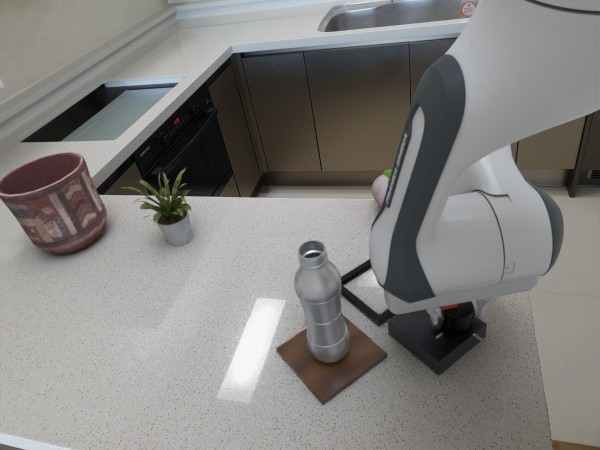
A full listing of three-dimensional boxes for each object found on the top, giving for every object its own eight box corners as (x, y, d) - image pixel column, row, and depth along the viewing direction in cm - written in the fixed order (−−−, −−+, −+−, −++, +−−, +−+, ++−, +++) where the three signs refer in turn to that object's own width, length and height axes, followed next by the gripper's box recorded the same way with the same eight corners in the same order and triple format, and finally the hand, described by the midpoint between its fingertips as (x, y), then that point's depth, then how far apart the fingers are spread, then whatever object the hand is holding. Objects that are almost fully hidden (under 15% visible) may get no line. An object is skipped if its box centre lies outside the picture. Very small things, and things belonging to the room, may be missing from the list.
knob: (465, 308, 69) (466, 290, 66) (477, 331, 65) (479, 313, 63) (436, 314, 69) (436, 296, 66) (446, 337, 65) (447, 318, 63)
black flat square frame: (432, 288, 77) (432, 283, 76) (379, 326, 72) (378, 321, 72) (382, 255, 86) (382, 250, 85) (332, 287, 81) (331, 282, 80)
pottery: (99, 259, 99) (60, 189, 88) (24, 268, 101) (-23, 200, 90) (126, 212, 113) (95, 146, 102) (59, 220, 115) (22, 157, 104)
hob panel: (499, 337, 67) (501, 323, 65) (446, 382, 63) (446, 368, 61) (438, 297, 75) (439, 283, 73) (388, 333, 71) (387, 320, 69)
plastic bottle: (352, 332, 71) (338, 230, 60) (351, 369, 66) (336, 266, 54) (311, 333, 72) (289, 234, 61) (307, 370, 67) (283, 269, 55)
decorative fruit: (423, 220, 92) (423, 177, 86) (385, 230, 91) (382, 188, 85) (404, 196, 100) (403, 156, 94) (368, 206, 99) (365, 165, 93)
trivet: (387, 356, 68) (387, 353, 67) (323, 405, 63) (322, 401, 63) (336, 311, 76) (336, 308, 76) (276, 351, 72) (275, 348, 71)
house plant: (138, 269, 94) (106, 203, 84) (146, 230, 105) (118, 168, 95) (207, 254, 94) (183, 187, 85) (207, 216, 106) (186, 153, 96)
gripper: (387, 275, 56) (391, 347, 64) (554, 244, 55) (537, 321, 64) (375, 243, 61) (380, 314, 69) (528, 215, 61) (515, 289, 69)
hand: (457, 317), depth 66 cm, fingers closed on knob, 4 cm apart
